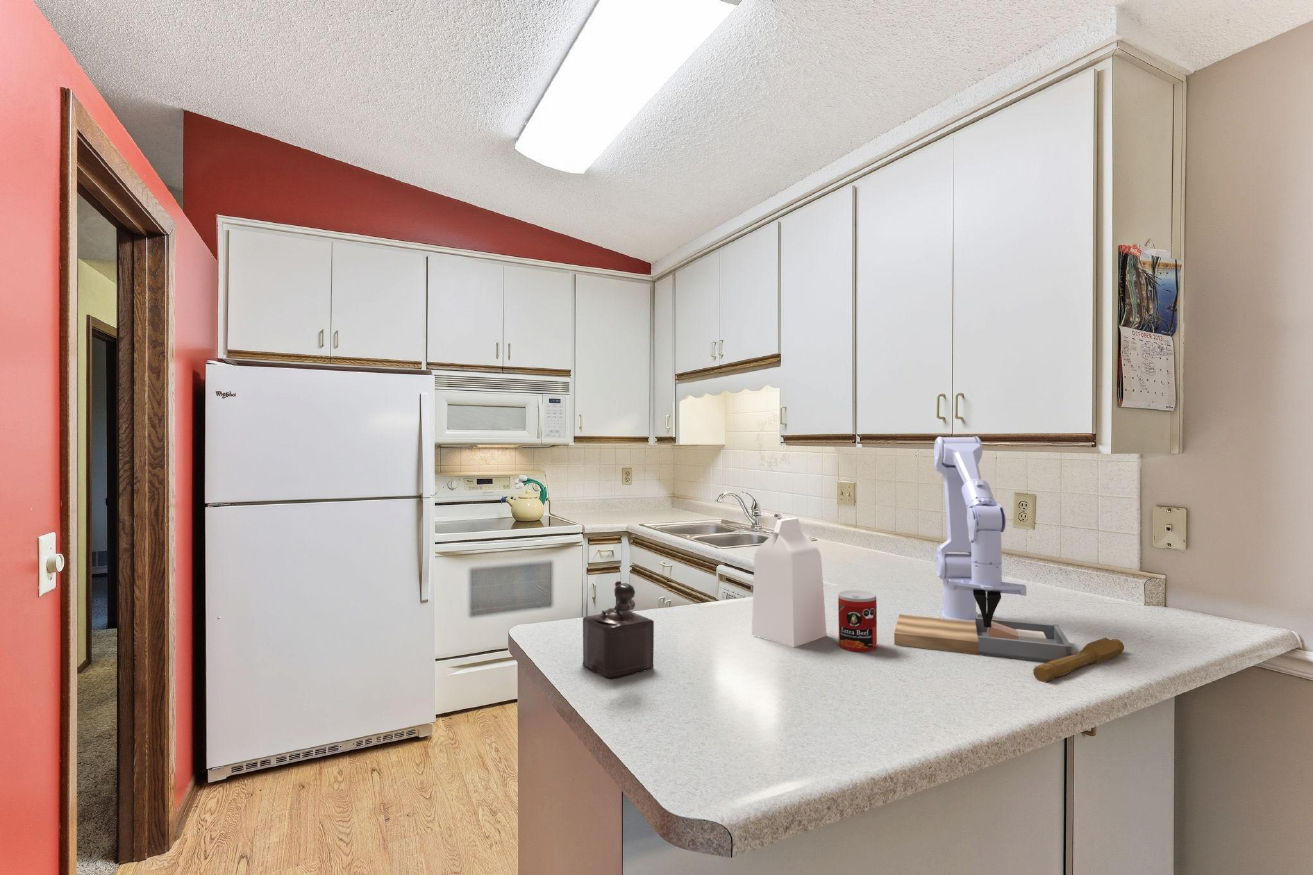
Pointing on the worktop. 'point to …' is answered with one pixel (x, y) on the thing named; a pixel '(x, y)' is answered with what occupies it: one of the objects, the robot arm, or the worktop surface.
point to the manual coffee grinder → (618, 638)
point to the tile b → (1031, 636)
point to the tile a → (1001, 631)
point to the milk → (788, 587)
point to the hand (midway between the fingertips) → (987, 626)
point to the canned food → (857, 620)
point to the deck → (937, 634)
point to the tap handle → (1079, 659)
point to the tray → (1024, 642)
